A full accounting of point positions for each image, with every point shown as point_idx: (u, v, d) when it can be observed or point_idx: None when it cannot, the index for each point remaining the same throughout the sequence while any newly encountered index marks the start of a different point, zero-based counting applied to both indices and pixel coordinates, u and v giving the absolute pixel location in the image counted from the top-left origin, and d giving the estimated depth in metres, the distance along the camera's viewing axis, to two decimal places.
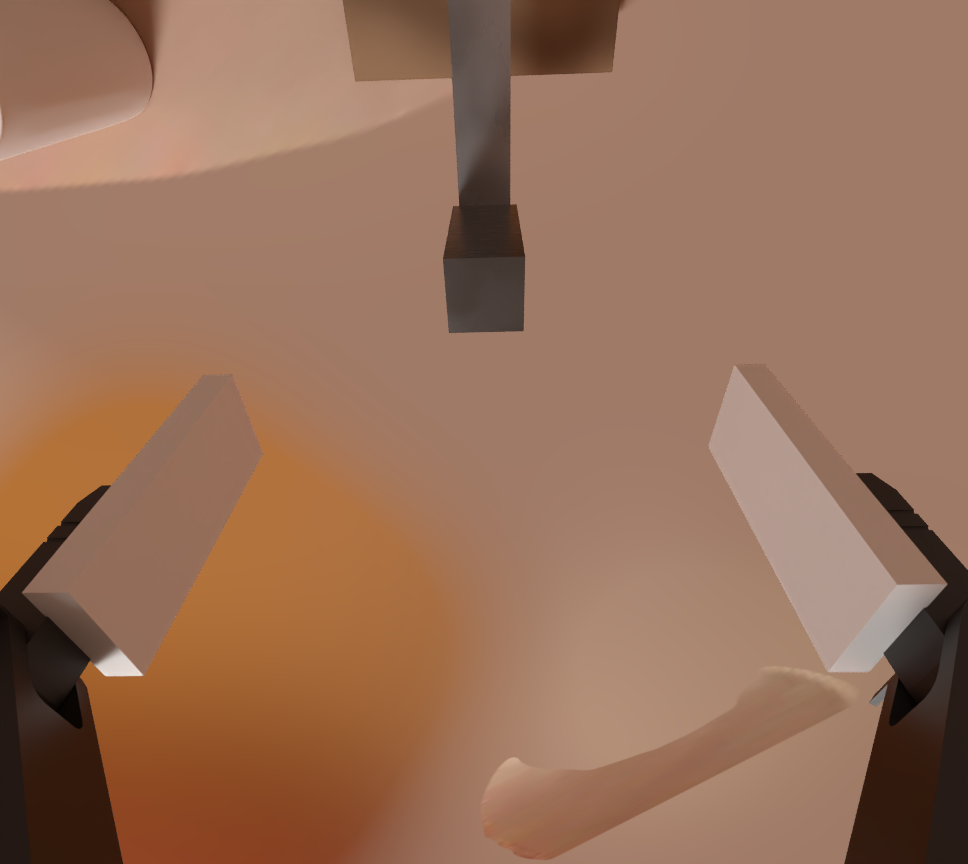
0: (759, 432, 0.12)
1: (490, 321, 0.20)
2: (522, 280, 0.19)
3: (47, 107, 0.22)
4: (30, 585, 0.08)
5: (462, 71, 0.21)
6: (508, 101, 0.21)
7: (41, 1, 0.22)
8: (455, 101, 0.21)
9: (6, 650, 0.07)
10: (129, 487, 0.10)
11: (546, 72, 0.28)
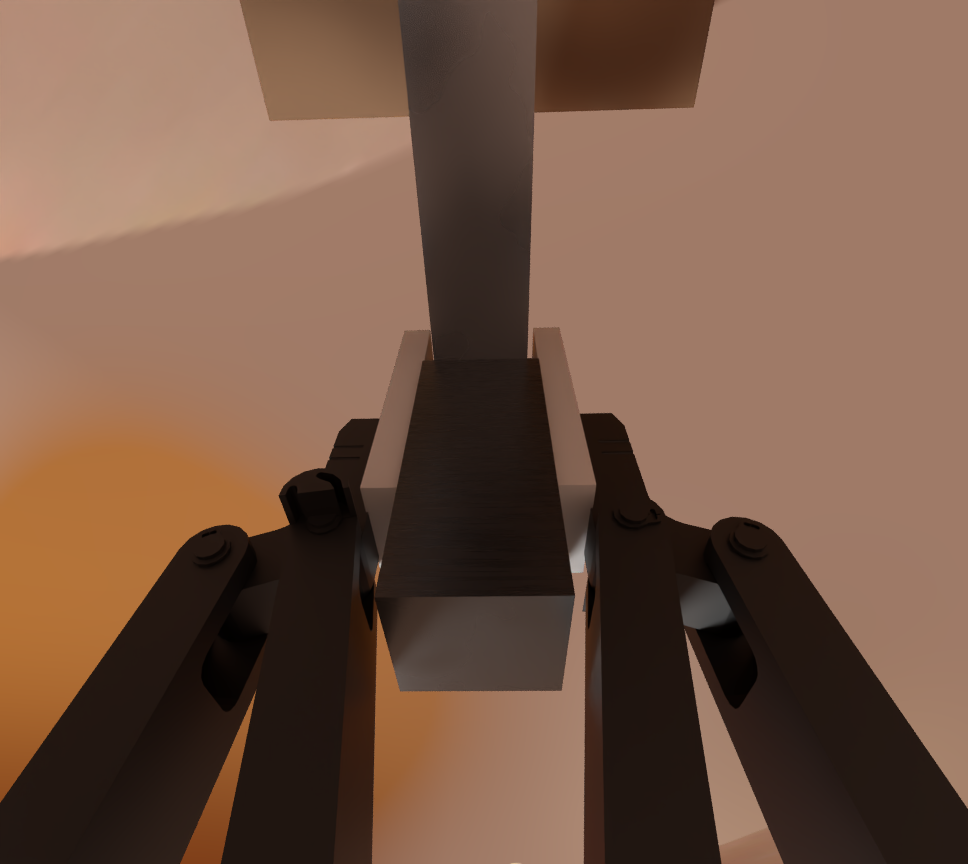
0: None
1: (488, 679, 0.09)
2: (565, 627, 0.08)
3: None
4: (364, 482, 0.10)
5: (432, 126, 0.10)
6: (528, 184, 0.10)
7: None
8: (420, 184, 0.10)
9: (351, 547, 0.09)
10: (397, 414, 0.12)
11: (584, 107, 0.17)
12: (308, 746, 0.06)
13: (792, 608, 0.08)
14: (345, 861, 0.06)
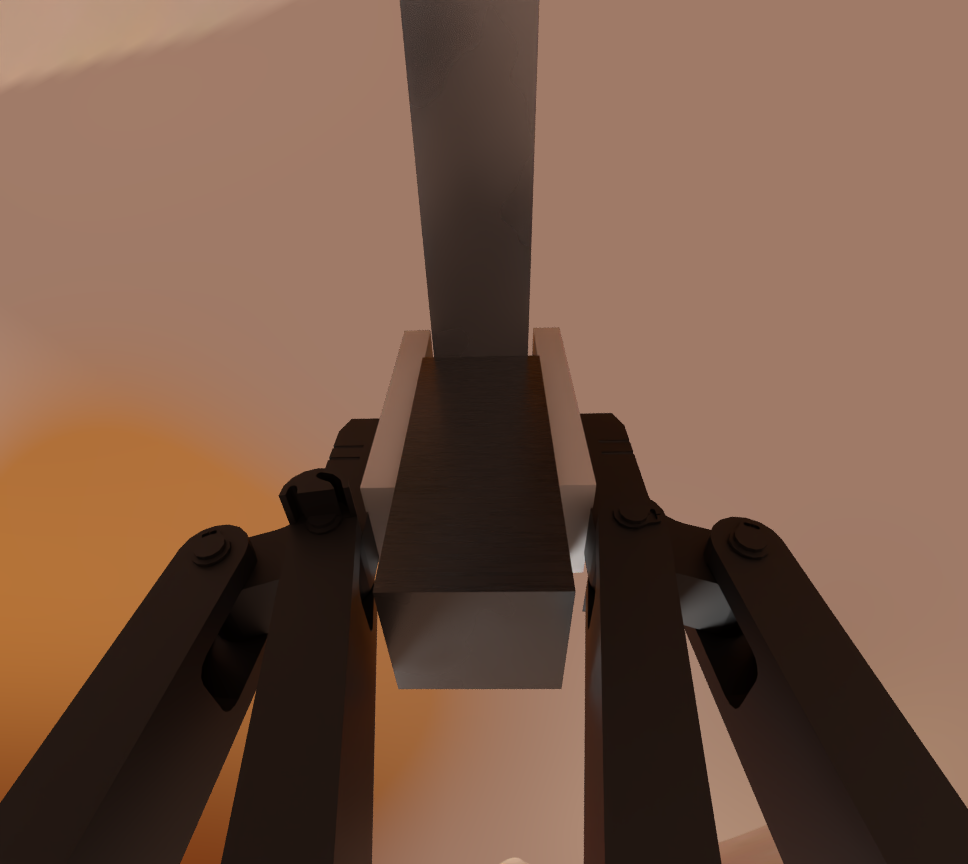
0: None
1: (488, 676, 0.09)
2: (565, 624, 0.08)
3: None
4: (364, 482, 0.10)
5: (433, 120, 0.10)
6: (529, 180, 0.10)
7: None
8: (420, 179, 0.10)
9: (352, 547, 0.09)
10: (397, 414, 0.12)
11: None
12: (309, 745, 0.06)
13: (792, 608, 0.08)
14: (345, 861, 0.06)
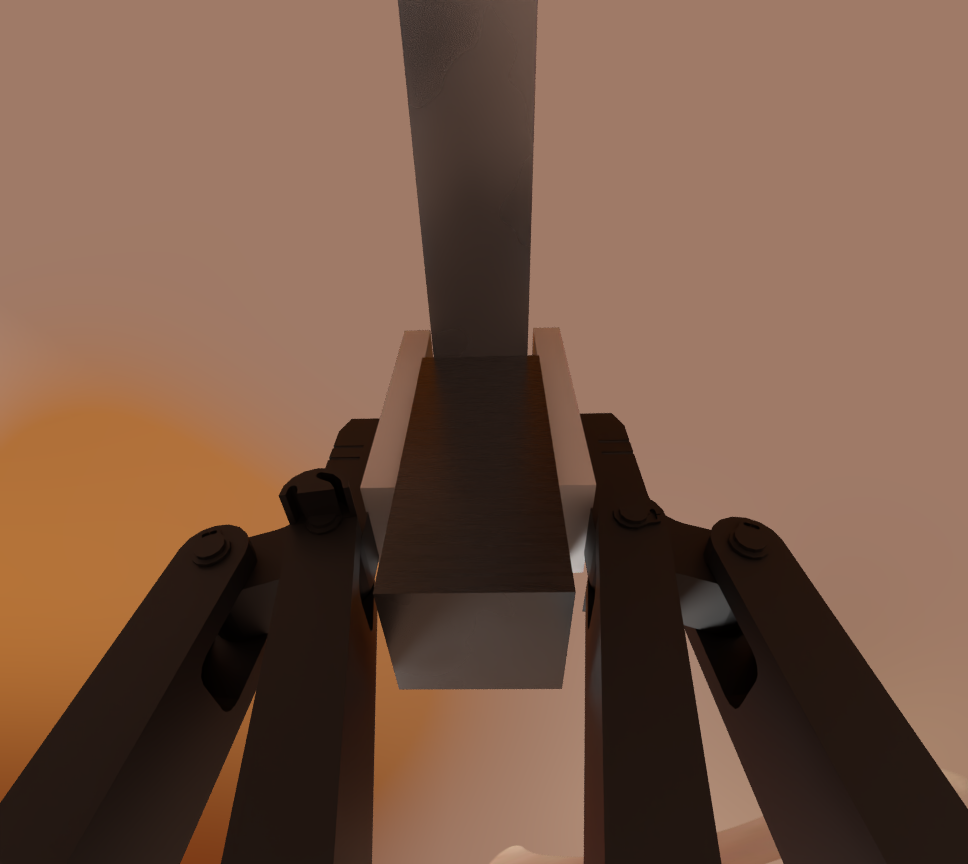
0: None
1: (489, 677, 0.09)
2: (565, 624, 0.08)
3: None
4: (364, 482, 0.10)
5: (432, 121, 0.10)
6: (528, 179, 0.10)
7: None
8: (419, 179, 0.10)
9: (352, 548, 0.09)
10: (398, 414, 0.12)
11: None
12: (309, 746, 0.06)
13: (792, 608, 0.08)
14: (345, 861, 0.06)
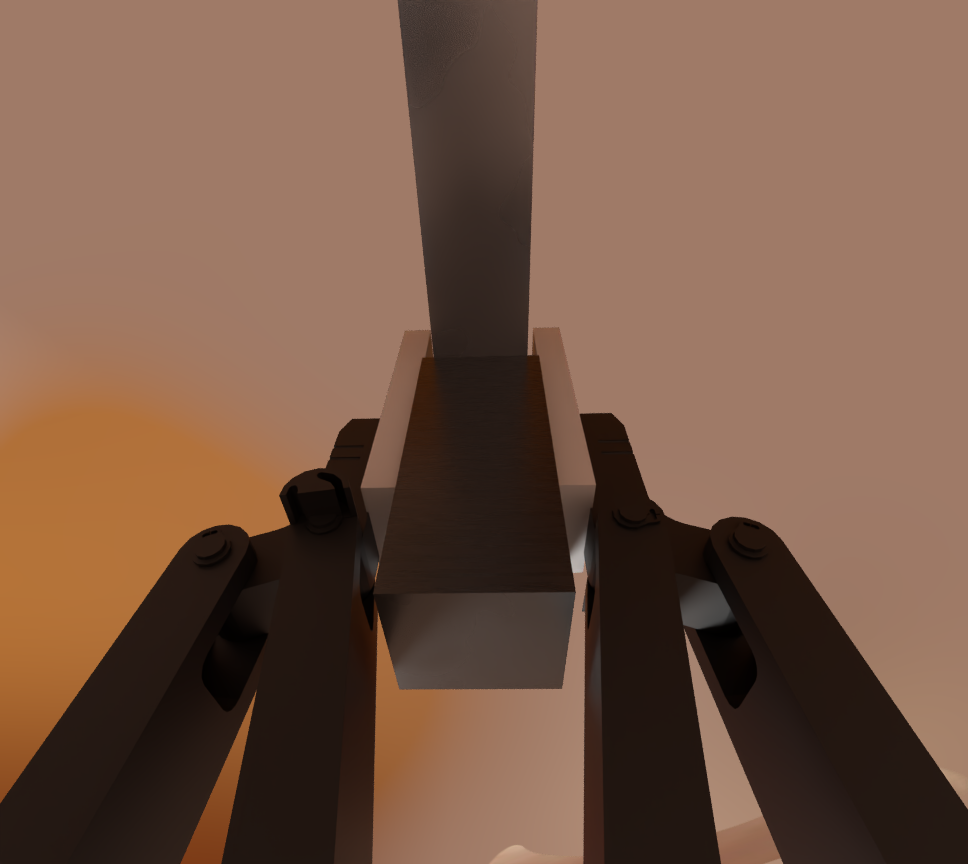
0: None
1: (489, 676, 0.09)
2: (565, 624, 0.08)
3: None
4: (365, 482, 0.10)
5: (432, 121, 0.10)
6: (528, 179, 0.10)
7: None
8: (419, 179, 0.10)
9: (352, 547, 0.09)
10: (398, 414, 0.12)
11: None
12: (309, 745, 0.06)
13: (792, 608, 0.08)
14: (346, 861, 0.06)
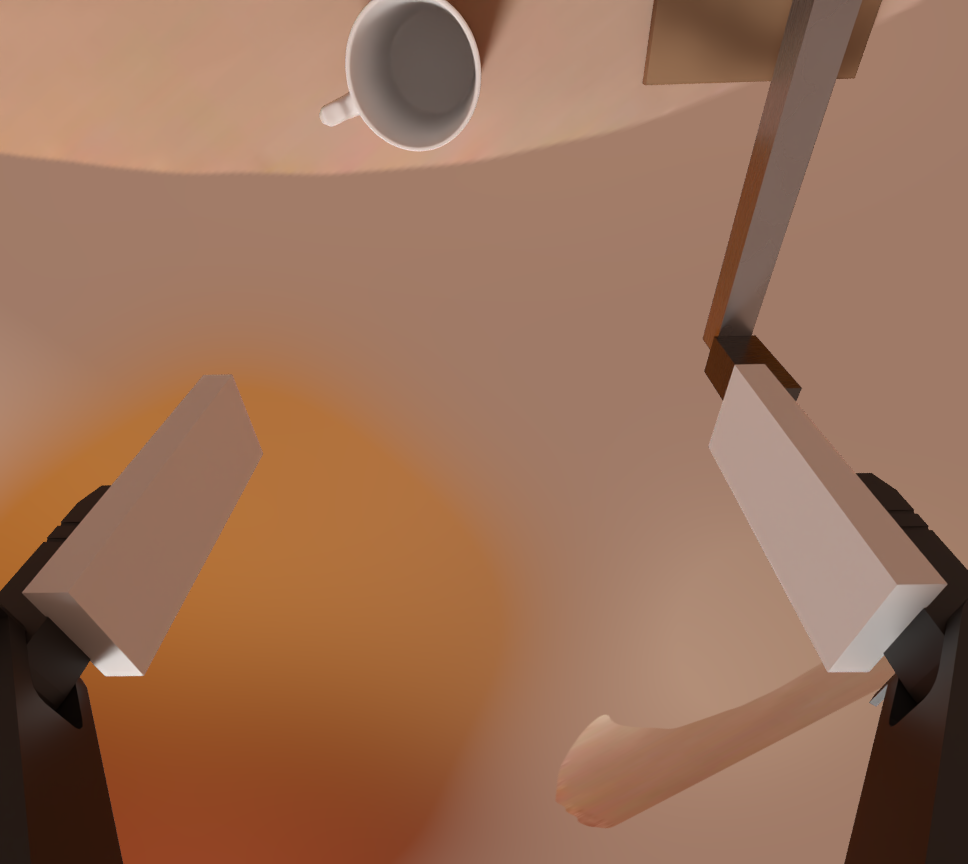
0: (760, 432, 0.12)
1: None
2: (795, 399, 0.32)
3: None
4: (30, 585, 0.08)
5: (744, 266, 0.34)
6: (768, 281, 0.35)
7: None
8: (735, 281, 0.35)
9: (6, 650, 0.07)
10: (129, 487, 0.10)
11: None
12: None
13: None
14: None
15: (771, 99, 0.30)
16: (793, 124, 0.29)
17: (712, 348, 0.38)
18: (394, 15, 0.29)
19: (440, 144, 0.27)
